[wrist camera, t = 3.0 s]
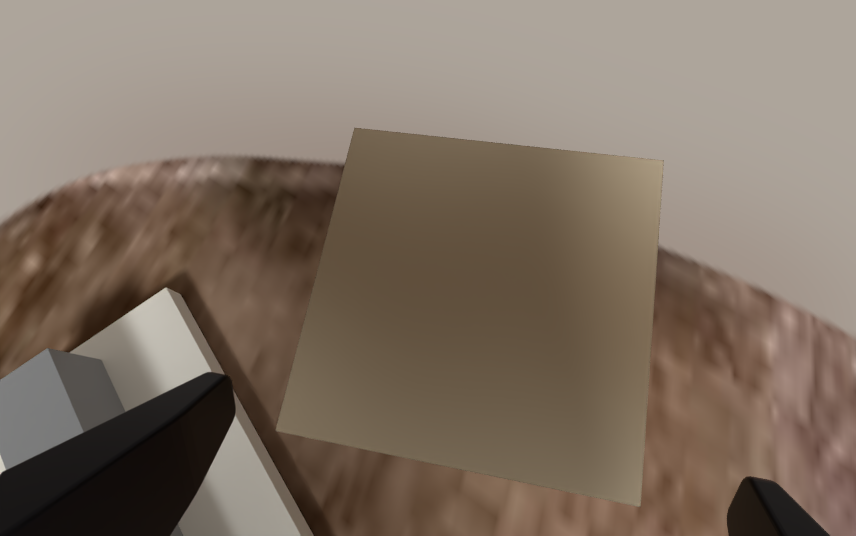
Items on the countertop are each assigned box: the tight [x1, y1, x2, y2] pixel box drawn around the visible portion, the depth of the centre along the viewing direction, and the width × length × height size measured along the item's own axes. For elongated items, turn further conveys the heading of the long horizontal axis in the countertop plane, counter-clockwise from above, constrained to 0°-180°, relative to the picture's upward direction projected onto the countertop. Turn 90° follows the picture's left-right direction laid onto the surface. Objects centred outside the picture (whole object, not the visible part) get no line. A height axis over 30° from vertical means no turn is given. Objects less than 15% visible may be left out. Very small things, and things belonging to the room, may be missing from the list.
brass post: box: [276, 128, 664, 507], centre depth 12 cm, size 4×4×13 cm
